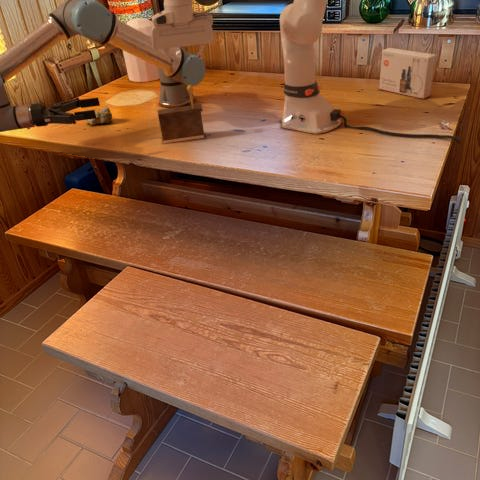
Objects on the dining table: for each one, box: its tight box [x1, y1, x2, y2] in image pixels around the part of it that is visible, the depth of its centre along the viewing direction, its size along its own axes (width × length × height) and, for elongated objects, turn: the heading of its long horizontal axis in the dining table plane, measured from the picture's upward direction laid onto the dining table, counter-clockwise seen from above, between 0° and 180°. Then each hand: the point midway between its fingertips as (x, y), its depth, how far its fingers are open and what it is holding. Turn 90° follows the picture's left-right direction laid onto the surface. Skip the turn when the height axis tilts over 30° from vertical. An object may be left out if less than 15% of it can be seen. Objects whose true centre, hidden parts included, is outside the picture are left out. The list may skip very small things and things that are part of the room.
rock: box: [86, 105, 113, 126], centre depth 189 cm, size 11×6×10 cm
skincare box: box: [378, 47, 437, 100], centre depth 184 cm, size 21×6×16 cm, turn 40°
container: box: [122, 17, 160, 83], centre depth 235 cm, size 21×21×28 cm
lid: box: [157, 85, 203, 118], centre depth 161 cm, size 16×5×8 cm, turn 100°
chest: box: [158, 111, 205, 144], centre depth 166 cm, size 15×5×10 cm, turn 99°
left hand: (97, 107), depth 157 cm, fingers open, 13 cm apart
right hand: (185, 60), depth 154 cm, fingers open, 8 cm apart
